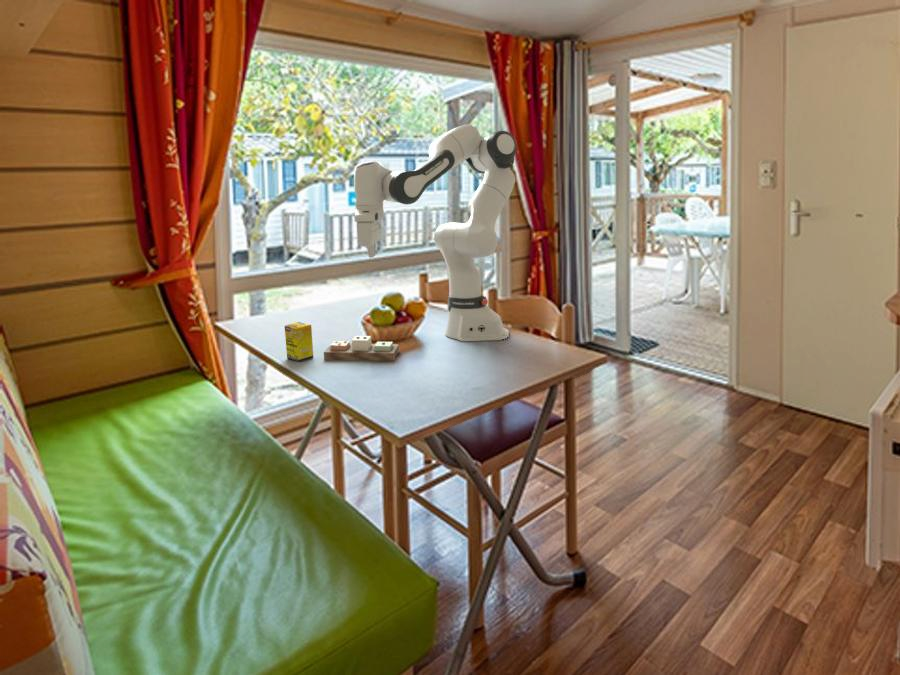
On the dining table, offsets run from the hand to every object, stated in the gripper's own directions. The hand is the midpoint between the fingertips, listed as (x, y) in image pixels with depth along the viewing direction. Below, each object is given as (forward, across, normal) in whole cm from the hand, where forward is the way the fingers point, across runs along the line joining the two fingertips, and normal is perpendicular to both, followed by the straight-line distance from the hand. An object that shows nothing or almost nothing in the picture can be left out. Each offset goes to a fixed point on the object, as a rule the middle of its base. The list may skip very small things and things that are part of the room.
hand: (372, 256), depth 205 cm
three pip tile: (+29, +14, -9) cm, 34 cm away
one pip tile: (+30, +14, +5) cm, 33 cm away
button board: (+29, +14, -2) cm, 33 cm away
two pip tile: (+28, +14, -2) cm, 31 cm away
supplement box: (+29, +18, -21) cm, 40 cm away
